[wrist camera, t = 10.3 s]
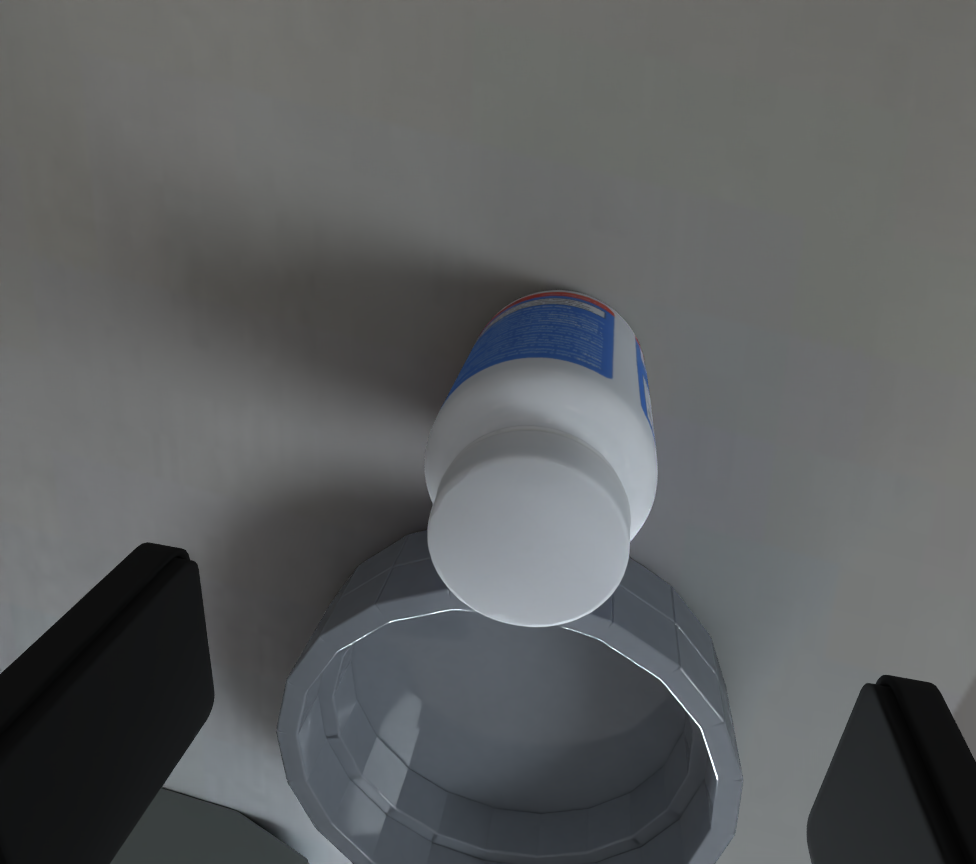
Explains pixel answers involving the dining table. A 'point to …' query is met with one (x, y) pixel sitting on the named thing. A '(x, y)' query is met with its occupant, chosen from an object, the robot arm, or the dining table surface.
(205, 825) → the basket
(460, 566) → the pill bottle
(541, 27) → the dining table surface
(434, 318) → the dining table surface
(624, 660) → the pan
